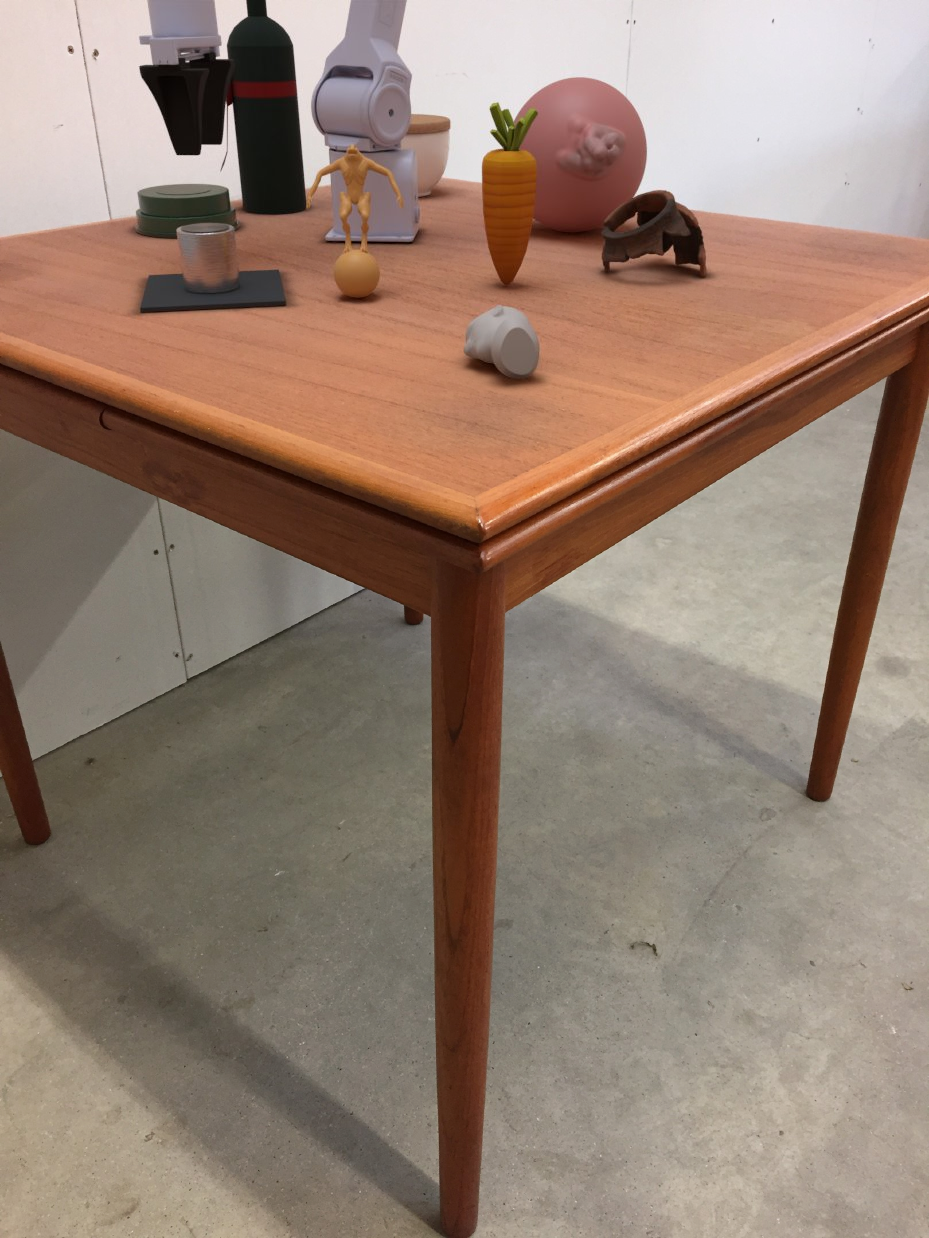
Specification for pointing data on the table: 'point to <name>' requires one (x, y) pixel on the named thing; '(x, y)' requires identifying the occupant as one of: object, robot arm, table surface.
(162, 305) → the mat
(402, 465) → the table surface
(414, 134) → the lidded bowl
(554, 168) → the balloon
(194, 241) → the silver cup
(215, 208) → the green stepped puck
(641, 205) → the broken pot rim
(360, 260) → the figurine
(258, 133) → the wine bottle
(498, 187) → the carrot
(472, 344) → the pale two-lobed sculpture
